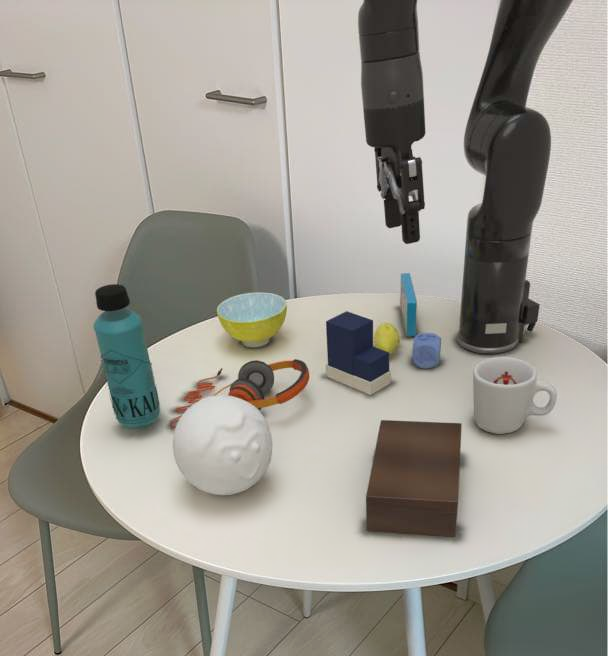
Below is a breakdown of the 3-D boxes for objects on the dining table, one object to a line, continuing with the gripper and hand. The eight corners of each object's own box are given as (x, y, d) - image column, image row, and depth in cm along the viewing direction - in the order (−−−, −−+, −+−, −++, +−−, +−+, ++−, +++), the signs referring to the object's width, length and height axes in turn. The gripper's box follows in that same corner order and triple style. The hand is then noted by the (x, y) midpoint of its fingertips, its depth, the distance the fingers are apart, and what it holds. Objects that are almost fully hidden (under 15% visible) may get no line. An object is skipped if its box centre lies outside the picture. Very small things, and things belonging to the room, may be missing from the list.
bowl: (207, 349, 124) (202, 313, 120) (247, 322, 131) (243, 287, 127) (264, 363, 119) (260, 326, 115) (302, 333, 126) (300, 298, 122)
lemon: (370, 360, 117) (370, 337, 115) (376, 338, 123) (376, 315, 121) (397, 361, 117) (397, 338, 114) (402, 338, 123) (402, 315, 120)
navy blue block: (326, 376, 114) (323, 320, 109) (346, 365, 117) (345, 310, 111) (370, 395, 109) (370, 337, 104) (391, 383, 112) (391, 326, 106)
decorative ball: (213, 528, 88) (197, 442, 81) (165, 482, 96) (146, 400, 88) (295, 488, 93) (288, 404, 86) (243, 448, 101) (232, 367, 93)
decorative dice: (438, 369, 114) (439, 344, 111) (411, 368, 115) (412, 343, 112) (440, 356, 117) (441, 332, 114) (414, 355, 118) (415, 332, 115)
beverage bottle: (120, 415, 110) (86, 280, 97) (165, 411, 110) (137, 276, 97) (115, 439, 105) (78, 301, 92) (163, 435, 105) (133, 296, 92)
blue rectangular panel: (400, 307, 132) (400, 272, 128) (408, 306, 132) (409, 272, 128) (406, 337, 123) (407, 301, 119) (415, 337, 123) (416, 300, 119)
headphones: (169, 445, 107) (300, 425, 100) (154, 413, 104) (288, 390, 97) (204, 387, 119) (323, 366, 113) (192, 357, 116) (313, 334, 110)
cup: (553, 415, 102) (563, 361, 97) (547, 446, 97) (557, 391, 91) (473, 405, 105) (478, 353, 100) (463, 436, 100) (468, 382, 95)
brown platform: (380, 452, 98) (380, 419, 95) (458, 456, 96) (461, 423, 93) (366, 531, 86) (365, 496, 83) (455, 537, 84) (458, 501, 81)
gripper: (440, 99, 87) (445, 242, 97) (406, 87, 99) (413, 216, 109) (378, 112, 87) (389, 254, 97) (350, 98, 98) (363, 227, 108)
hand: (402, 234), depth 103 cm, fingers open, 8 cm apart
